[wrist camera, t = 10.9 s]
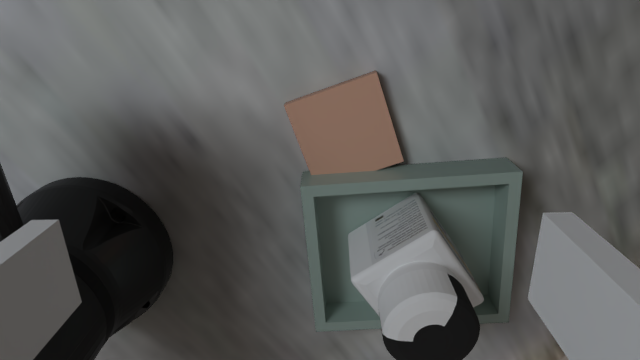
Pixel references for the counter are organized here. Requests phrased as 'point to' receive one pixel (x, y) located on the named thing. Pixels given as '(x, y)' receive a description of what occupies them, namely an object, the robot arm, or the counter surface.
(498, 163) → the box
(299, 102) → the terracotta tile
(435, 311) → the container
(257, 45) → the counter surface
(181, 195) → the counter surface
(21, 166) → the counter surface
